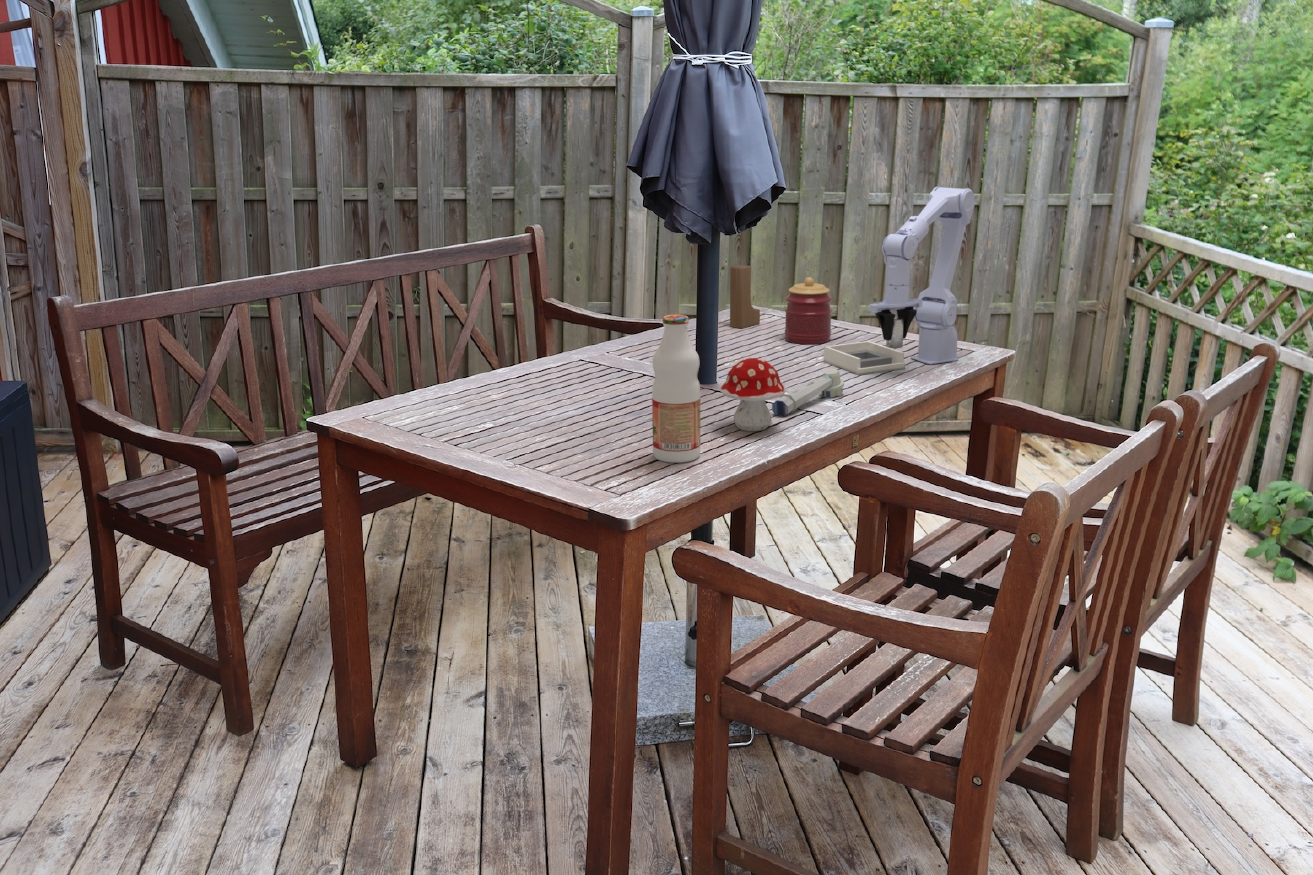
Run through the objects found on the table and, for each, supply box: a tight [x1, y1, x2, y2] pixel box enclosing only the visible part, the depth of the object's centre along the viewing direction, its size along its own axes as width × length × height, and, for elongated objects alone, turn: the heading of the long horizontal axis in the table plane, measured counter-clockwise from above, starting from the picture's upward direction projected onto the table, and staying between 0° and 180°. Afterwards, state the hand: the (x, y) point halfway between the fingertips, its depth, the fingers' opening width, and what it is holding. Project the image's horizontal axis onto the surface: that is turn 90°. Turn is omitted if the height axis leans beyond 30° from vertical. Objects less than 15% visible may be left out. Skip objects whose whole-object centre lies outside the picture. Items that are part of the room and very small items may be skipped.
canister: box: [784, 276, 833, 345], centre depth 327 cm, size 13×13×18 cm
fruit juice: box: [651, 313, 701, 464], centre depth 228 cm, size 9×9×28 cm
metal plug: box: [885, 316, 904, 349], centre depth 289 cm, size 4×4×7 cm
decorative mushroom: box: [719, 357, 787, 432], centre depth 248 cm, size 14×14×15 cm
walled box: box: [823, 340, 906, 376], centre depth 300 cm, size 14×16×4 cm
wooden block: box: [729, 264, 761, 329], centre depth 346 cm, size 9×4×18 cm, turn 137°
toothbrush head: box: [771, 368, 845, 418], centre depth 266 cm, size 5×7×25 cm
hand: (894, 338), depth 289 cm, fingers closed on metal plug, 4 cm apart
